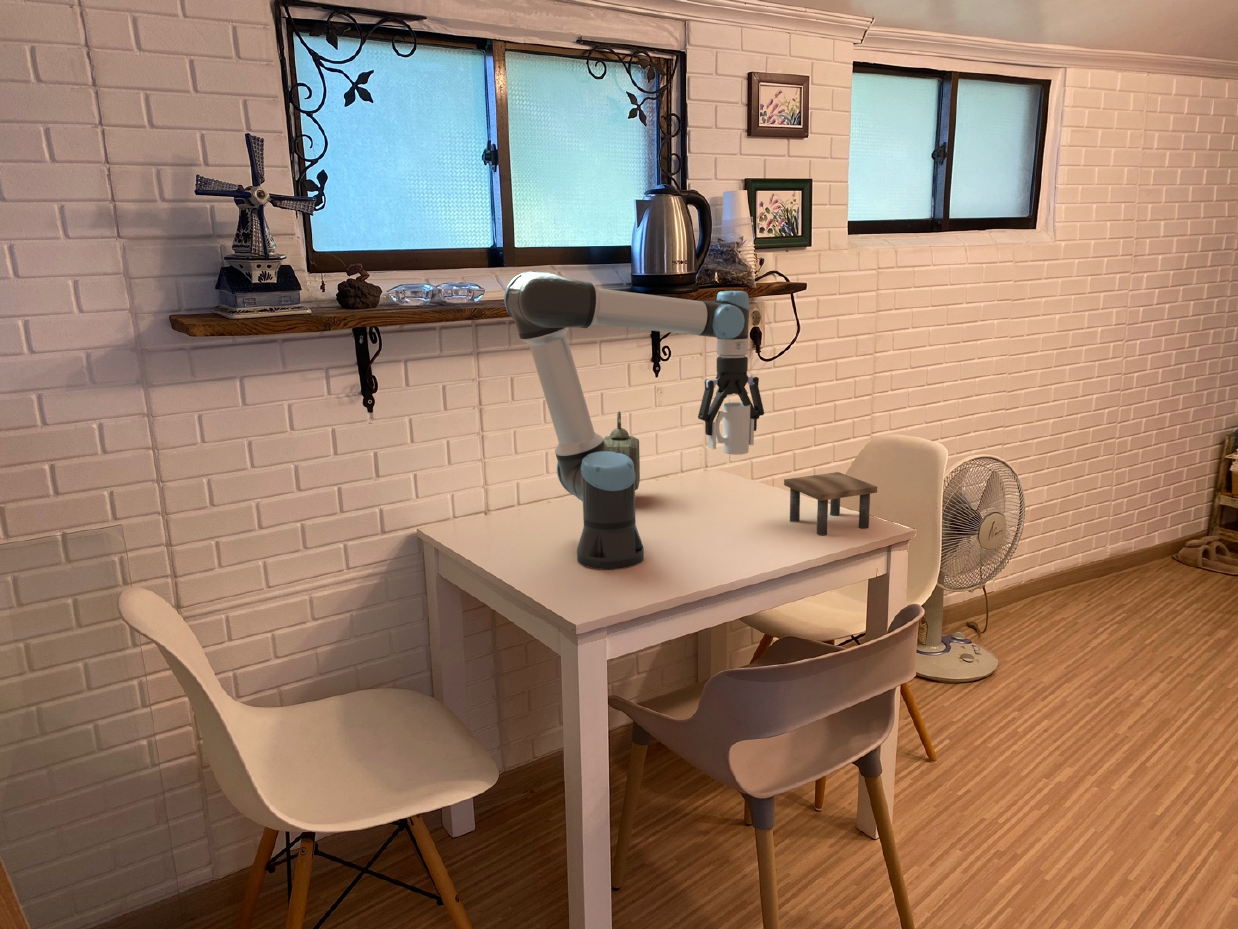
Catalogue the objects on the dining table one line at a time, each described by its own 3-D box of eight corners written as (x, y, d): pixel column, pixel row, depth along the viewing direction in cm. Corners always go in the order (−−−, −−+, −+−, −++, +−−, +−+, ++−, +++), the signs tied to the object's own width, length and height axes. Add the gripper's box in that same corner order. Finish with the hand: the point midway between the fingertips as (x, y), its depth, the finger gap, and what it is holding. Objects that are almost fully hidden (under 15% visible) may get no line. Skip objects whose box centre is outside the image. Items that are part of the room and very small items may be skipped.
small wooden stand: (819, 537, 218) (820, 494, 216) (783, 519, 233) (784, 479, 230) (875, 528, 224) (877, 486, 221) (836, 511, 238) (838, 472, 236)
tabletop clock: (608, 494, 260) (605, 407, 254) (640, 494, 259) (638, 406, 253) (603, 509, 246) (600, 417, 240) (637, 509, 245) (635, 416, 239)
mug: (737, 447, 234) (738, 401, 231) (755, 452, 229) (756, 404, 226) (706, 453, 229) (706, 405, 226) (723, 458, 223) (724, 409, 220)
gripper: (697, 360, 216) (697, 453, 221) (780, 354, 224) (778, 444, 229) (683, 356, 222) (683, 447, 228) (764, 351, 231) (762, 439, 236)
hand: (730, 446), depth 228 cm, fingers closed on mug, 10 cm apart
